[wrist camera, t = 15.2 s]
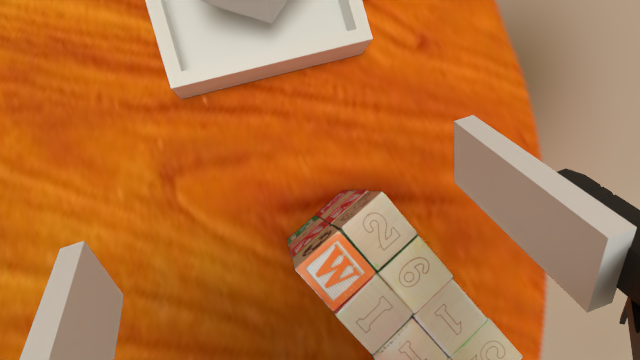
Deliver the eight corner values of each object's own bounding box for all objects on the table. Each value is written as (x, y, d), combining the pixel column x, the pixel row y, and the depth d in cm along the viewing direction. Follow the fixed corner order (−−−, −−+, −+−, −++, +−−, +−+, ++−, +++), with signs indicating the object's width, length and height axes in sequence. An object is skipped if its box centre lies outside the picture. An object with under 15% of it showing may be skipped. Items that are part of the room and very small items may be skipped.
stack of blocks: (502, 377, 36) (627, 476, 23) (450, 430, 35) (550, 560, 23) (341, 188, 34) (383, 188, 22) (283, 239, 33) (293, 269, 21)
